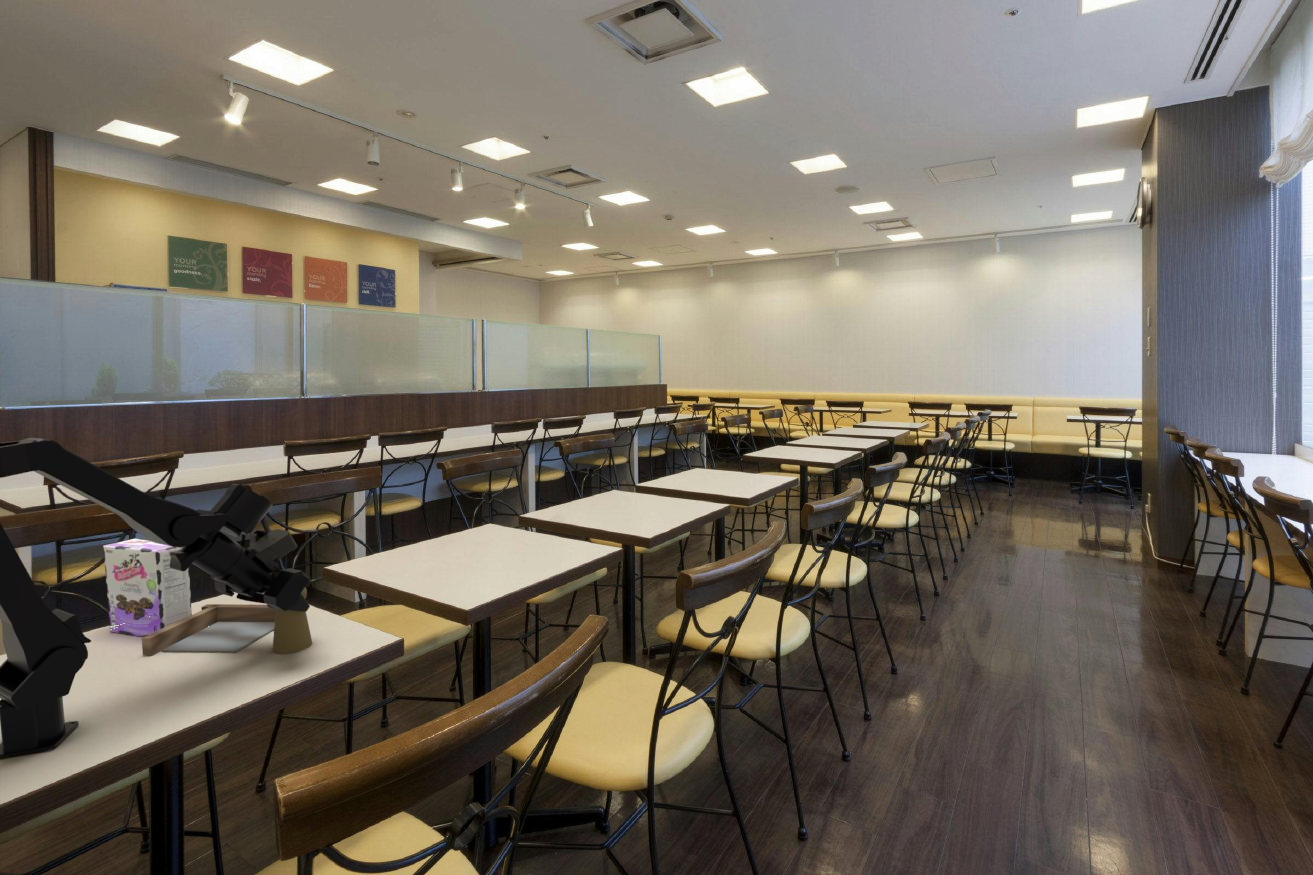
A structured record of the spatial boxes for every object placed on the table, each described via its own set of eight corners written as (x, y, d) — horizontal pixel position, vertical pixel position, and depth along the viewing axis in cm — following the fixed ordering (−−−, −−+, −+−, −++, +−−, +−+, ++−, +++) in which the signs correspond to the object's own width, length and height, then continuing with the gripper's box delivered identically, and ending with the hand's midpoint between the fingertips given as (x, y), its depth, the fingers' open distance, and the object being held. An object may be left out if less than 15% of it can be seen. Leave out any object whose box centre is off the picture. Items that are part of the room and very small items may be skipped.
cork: (294, 654, 106) (290, 590, 105) (263, 652, 107) (259, 588, 106) (320, 640, 112) (317, 579, 111) (290, 638, 113) (287, 577, 112)
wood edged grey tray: (243, 656, 105) (242, 639, 105) (134, 655, 106) (132, 638, 106) (303, 620, 122) (302, 604, 121) (208, 619, 123) (207, 604, 122)
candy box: (108, 632, 117) (100, 544, 115) (142, 621, 122) (135, 537, 121) (162, 640, 112) (155, 549, 111) (195, 628, 118) (188, 541, 117)
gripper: (295, 522, 100) (360, 573, 110) (229, 512, 109) (296, 559, 119) (245, 585, 93) (320, 632, 104) (180, 569, 102) (255, 613, 113)
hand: (298, 606), depth 110 cm, fingers closed on cork, 5 cm apart
